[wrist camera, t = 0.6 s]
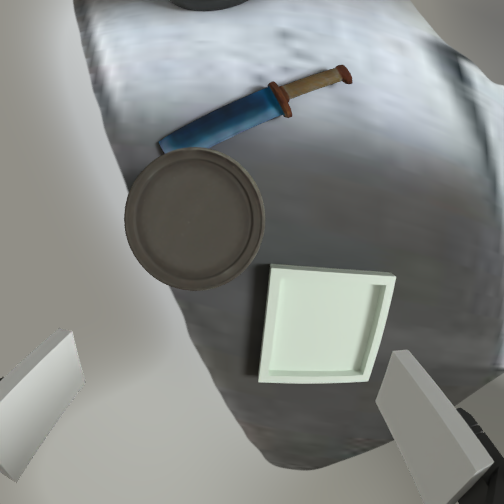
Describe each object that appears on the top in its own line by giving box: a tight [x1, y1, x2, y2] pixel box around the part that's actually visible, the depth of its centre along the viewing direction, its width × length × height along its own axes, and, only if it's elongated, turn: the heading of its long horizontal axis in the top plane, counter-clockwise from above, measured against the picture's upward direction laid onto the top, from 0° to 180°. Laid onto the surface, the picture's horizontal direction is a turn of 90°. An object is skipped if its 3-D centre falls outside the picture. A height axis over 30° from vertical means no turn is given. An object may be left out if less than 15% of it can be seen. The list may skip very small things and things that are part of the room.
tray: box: [258, 264, 396, 383], centre depth 36 cm, size 16×16×2 cm
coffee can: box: [124, 147, 265, 291], centre depth 27 cm, size 10×10×14 cm
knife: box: [159, 65, 352, 154], centre depth 30 cm, size 24×3×5 cm
